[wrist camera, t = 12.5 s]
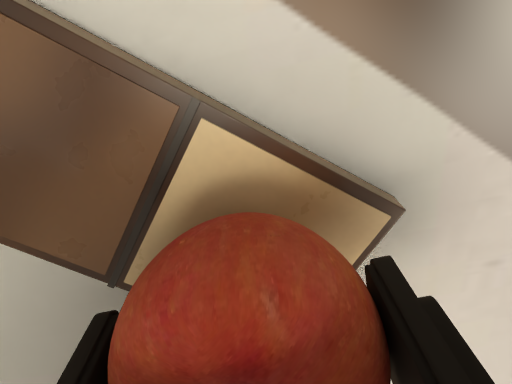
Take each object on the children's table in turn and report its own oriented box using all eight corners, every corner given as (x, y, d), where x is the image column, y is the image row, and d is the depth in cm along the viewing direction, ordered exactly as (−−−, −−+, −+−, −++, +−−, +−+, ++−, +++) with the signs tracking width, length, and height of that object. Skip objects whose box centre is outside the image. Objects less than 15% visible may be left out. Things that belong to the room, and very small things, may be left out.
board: (394, 196, 14) (408, 211, 13) (286, 331, 17) (288, 353, 16) (-67, -53, 10) (-109, -64, 9) (-94, 184, 13) (-127, 199, 12)
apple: (287, 343, 15) (321, 618, 8) (133, 291, 14) (4, 570, 7) (378, 218, 12) (555, 467, 5) (197, 137, 11) (98, 327, 4)
